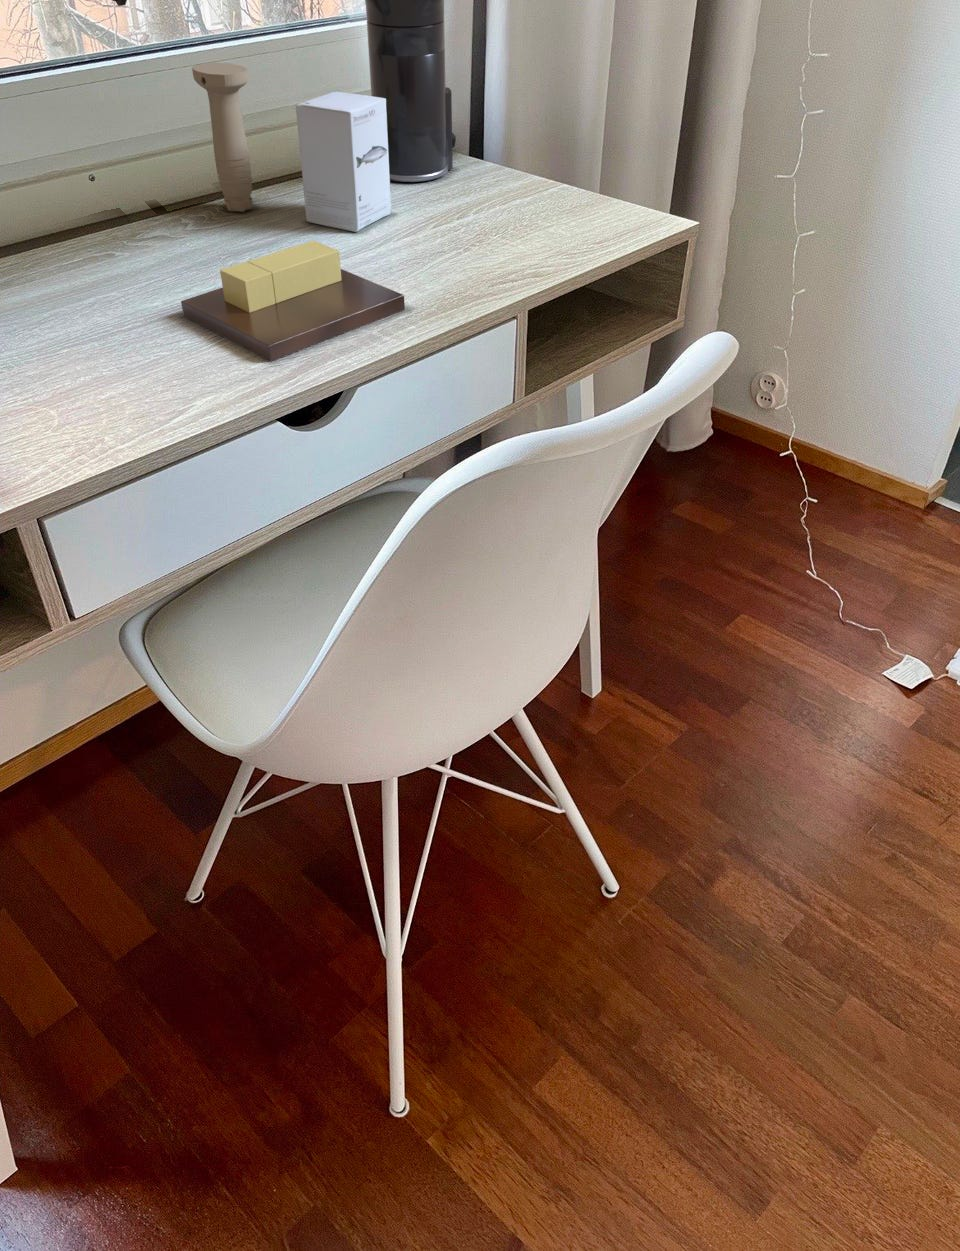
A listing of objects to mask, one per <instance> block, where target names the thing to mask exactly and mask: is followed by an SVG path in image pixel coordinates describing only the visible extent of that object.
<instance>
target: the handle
mask: <svg viewBox="0 0 960 1251" xmlns="http://www.w3.org/2000/svg"><path fill="white" fill-rule="evenodd" d="M191 71H192V76H193V80H194V82H196V84H197V85H198V86H199V87H201V88H203V89H204V90H206V92H207V99H208V105H209V113H210V122H211V123H210V124H211V132H212V144H213V155H214V161H215V167H216V174H217V178H218V182H219V186H220V190H221V193H222V196H223V199H224V205H225V207H226V209H227V211H229V212H240V213H244V212H245V211H249V210H252V208H253V197H252V196H251V194H252V193H253V178H252V169H251V168H252V166H251V157H250V151H249V146H248V141H247V136H246V131H245V126H244V120H243V115H242V110H241V104H240V98H239V97H240V96H239V91H240V90H241V88H243V87H244V86H246V84H247V83H248V82H249V74H248V73H249V72H248V69H247V68H246V67H245V66H243V65H239V64H235V63H228V62H206V63H201V64H197V65H194V66H192V67H191Z"/></svg>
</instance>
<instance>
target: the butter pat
mask: <svg viewBox="0 0 960 1251" xmlns="http://www.w3.org/2000/svg"><path fill="white" fill-rule="evenodd" d="M219 274H220V279H221V286H222V287H223V292H224V298H225V301H226V302H228V303H230V304H232V305H234V306H236V307H238V308H241V309H243V310H245V311H247V312H249V313H251V312H254V311H256V310H259V309H262V308H265V307H268V306H271V305H274V304H275V296H274V289H273V281H272V273H271V272H268V271H266V270H264V269H262V268H259V267H257V266H255V265H253V264H250V263H248V262H247V261H243V262H241V263H238V264H234V265H232V266H228V267H224V268H222V269H219Z"/></svg>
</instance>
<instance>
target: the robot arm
mask: <svg viewBox="0 0 960 1251" xmlns="http://www.w3.org/2000/svg"><path fill="white" fill-rule="evenodd" d="M111 1H112V2H115V3H116V5H117V6H118V7H123V6H126V4H127V2H128V0H111ZM364 3H365V4H364V5H365V16H366V32H367V34H366V35H367V47H368V63H369V65H368V66H369V79H370V83H369V84H370V96H373V97H380V98H385V99H386V113H387V134H388V154H389V176H390V181H393V182H402V183H418V182H420V183H421V182H427V181H432V180H435V179H439V178H441V177H444V176H445V175H447V173H448V171H449V170H453V168H454V166H453V163H454V162H453V149H454V148H455V147H456V142H457V136H456V135H455V134H454V132H453V109H452V108H453V107H452V105H453V104H452V103H453V101H452V100H453V99H452V96H453V95H452V94H453V93H452V89H451V88H450V87H449V86H448V87H447V86H446V48H445V44H446V43H445V37H446V36H445V0H364Z"/></svg>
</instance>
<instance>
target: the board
mask: <svg viewBox="0 0 960 1251" xmlns="http://www.w3.org/2000/svg"><path fill="white" fill-rule="evenodd" d="M340 269H341V281H339V282H336V283H333V284H330V285H327V286H325V287H322V288H319V289H316V290H313V291H310V292H308V293H305V294H302V295H299V296H296V297H293V298H290V299H288V300H285V301H282V302H279V303H275V304H274V305H271V306H268V307H265V308H262V309H259V310H256V311H254V312H251V313H249V312H247V311H245V310H243V309H241V308H238V307H236V306H234V305H232V304H230V303H228V302H226V301H225V298H224V292H223V286H222V287H220V288H217V289H213V290H211V291H207V292H204V293H202V294H201V293H200V294H198V295H195V296H192V297H188V298H185V299H182V300H180V304H181V310H182V315H183V317H185V318H187V319H189V320H191V321H192V322H194V323H197V324H198V325H201V326H203V327H204V328H206V329H208V330H210V331H212V332H214V333H216V334H217V335H219V336H222V337H223V338H226V339H227V340H229V341H231V342H233V343H235V344H237V345H239V346H241V347H242V348H244V349H246V350H248V351H250V352H252V353H254V354H256V355H258V356H259V357H262V358H263V359H266V360H267V361H269V362H273V361H276V360H278V359H281V358H284V357H286V356H289V355H291V354H294V353H296V352H300V351H302V350H304V349H307V348H309V347H312V346H315V345H317V344H319V343H320V344H321V343H323V342H325V341H328V340H330V339H333V338H335V337H338V336H340V335H343V334H346V333H348V332H351V331H353V330H356V329H358V328H362V327H364V326H366V325H369V324H371V323H374V322H376V321H377V322H378V321H379V320H382V319H384V318H387V317H390V316H392V315H395V314H398V313H400V312H403V311H405V310H406V308H405V307H406V306H405V303H406V302H405V294H403V293H400V292H398V291H396V290H393V289H391V288H388V287H386V286H383V285H381V284H379V283H376V282H374V281H371V280H369V279H367V278H364V277H362V276H360V275H357V274H354V273H353V272H349V271H347V270H345V269H342V268H340Z"/></svg>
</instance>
